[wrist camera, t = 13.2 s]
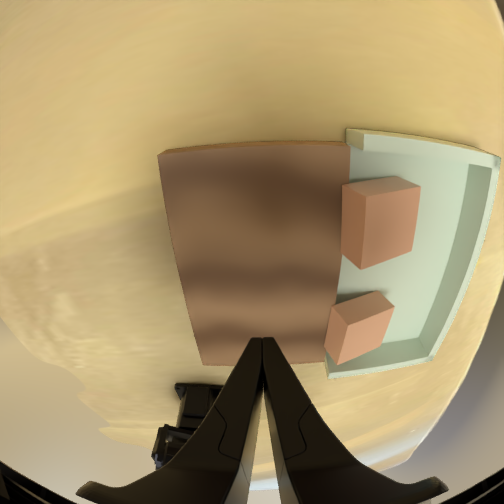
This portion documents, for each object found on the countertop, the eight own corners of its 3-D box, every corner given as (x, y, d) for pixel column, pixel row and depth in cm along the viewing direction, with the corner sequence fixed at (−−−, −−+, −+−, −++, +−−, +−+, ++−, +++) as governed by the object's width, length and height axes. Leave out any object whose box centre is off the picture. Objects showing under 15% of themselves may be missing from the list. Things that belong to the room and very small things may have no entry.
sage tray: (420, 339, 27) (431, 360, 24) (322, 352, 28) (327, 378, 25) (474, 147, 16) (501, 157, 13) (345, 128, 17) (364, 133, 14)
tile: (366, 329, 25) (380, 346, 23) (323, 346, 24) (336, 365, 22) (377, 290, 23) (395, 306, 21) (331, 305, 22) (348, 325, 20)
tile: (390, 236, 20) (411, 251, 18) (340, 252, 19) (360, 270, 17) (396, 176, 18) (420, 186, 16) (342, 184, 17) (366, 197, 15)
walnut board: (321, 347, 27) (323, 361, 25) (205, 350, 28) (203, 365, 26) (341, 141, 17) (350, 146, 16) (166, 149, 18) (157, 155, 16)
